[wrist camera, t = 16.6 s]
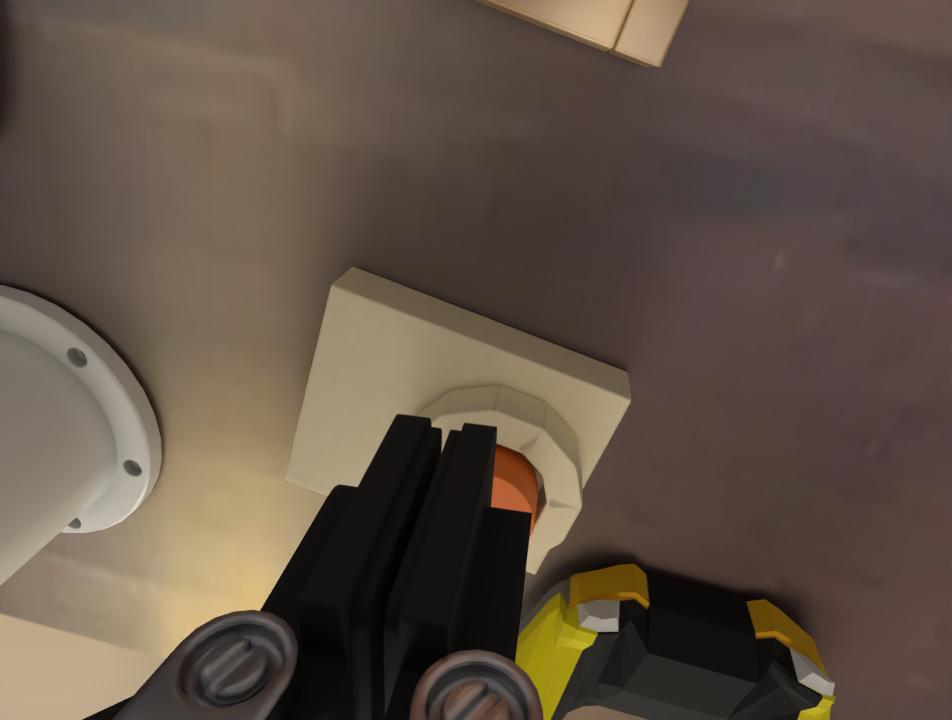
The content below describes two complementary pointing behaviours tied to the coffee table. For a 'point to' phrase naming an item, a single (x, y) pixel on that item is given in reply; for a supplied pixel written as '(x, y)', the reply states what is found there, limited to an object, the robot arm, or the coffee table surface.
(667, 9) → the box
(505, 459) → the button
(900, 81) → the coffee table surface
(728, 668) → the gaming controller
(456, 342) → the push button box
